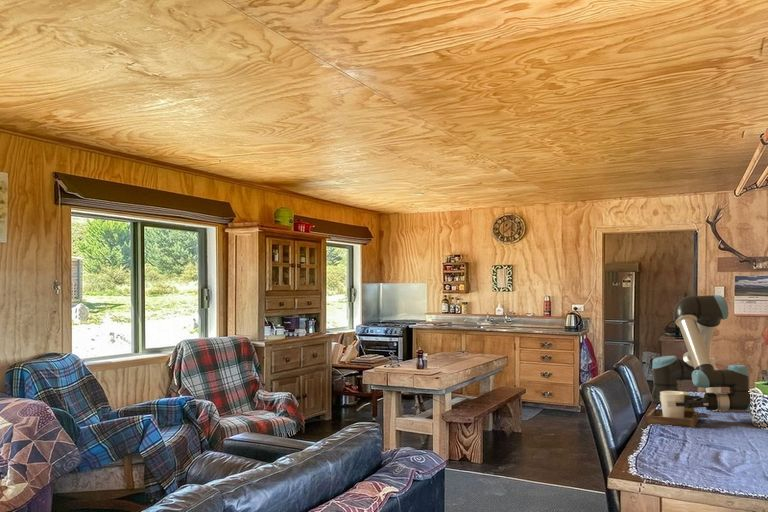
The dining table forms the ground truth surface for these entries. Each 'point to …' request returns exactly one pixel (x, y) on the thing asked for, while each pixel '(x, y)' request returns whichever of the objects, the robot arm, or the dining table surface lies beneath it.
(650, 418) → the walnut crate
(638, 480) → the dining table surface
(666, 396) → the cream cup
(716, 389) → the water bottle
